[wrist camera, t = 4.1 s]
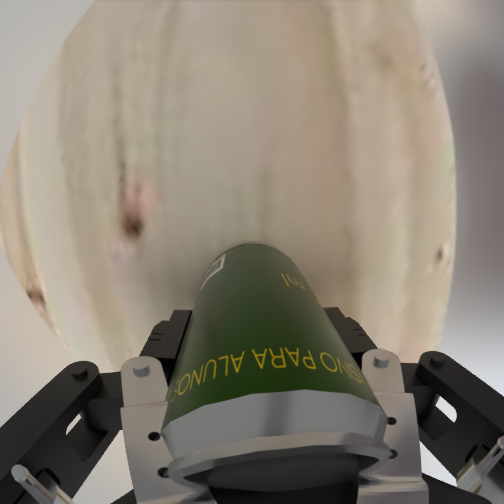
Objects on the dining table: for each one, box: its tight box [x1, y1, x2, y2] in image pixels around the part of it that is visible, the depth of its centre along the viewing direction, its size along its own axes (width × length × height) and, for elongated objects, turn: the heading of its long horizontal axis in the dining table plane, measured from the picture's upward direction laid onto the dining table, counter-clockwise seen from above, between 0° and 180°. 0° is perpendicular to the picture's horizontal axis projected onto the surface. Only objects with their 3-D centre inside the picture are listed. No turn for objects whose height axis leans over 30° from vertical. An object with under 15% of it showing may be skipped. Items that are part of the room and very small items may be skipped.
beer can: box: [154, 245, 396, 492], centre depth 10 cm, size 5×5×12 cm
